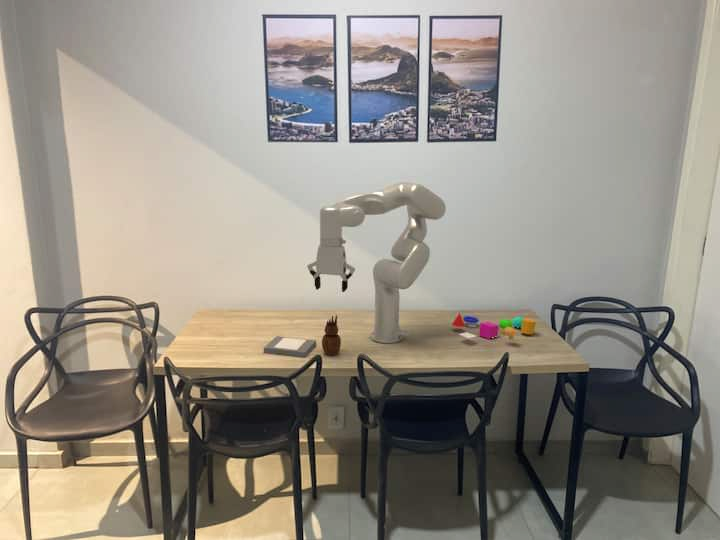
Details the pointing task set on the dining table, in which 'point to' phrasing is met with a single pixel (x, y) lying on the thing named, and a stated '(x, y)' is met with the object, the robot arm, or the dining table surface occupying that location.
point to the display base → (290, 346)
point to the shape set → (497, 326)
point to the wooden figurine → (331, 338)
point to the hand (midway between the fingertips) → (331, 289)
